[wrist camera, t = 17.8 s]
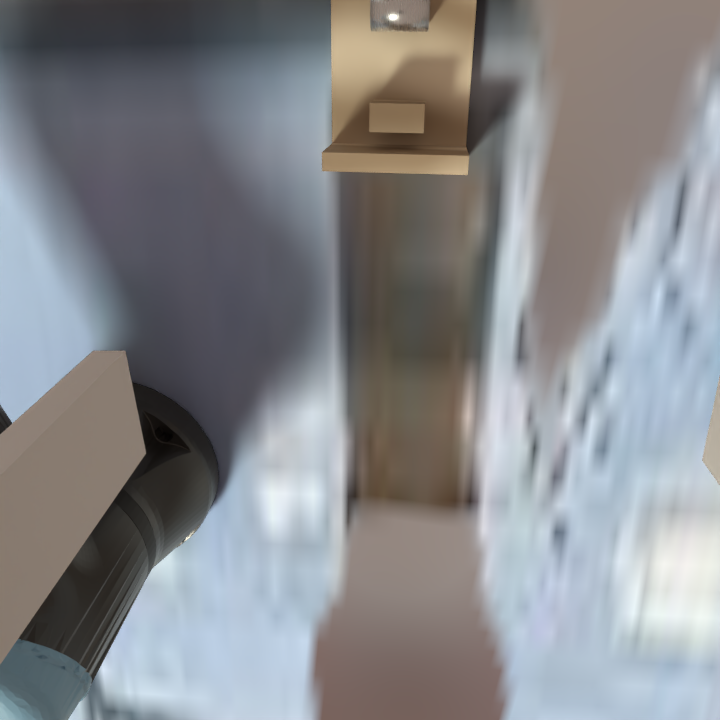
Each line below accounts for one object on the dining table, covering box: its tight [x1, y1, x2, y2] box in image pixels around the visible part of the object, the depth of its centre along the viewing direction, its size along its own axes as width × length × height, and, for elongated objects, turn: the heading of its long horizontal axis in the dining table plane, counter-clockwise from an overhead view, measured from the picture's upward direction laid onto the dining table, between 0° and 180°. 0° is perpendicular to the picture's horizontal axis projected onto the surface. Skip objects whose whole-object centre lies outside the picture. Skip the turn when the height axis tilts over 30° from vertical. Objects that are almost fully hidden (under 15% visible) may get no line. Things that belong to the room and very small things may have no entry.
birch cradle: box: [322, 0, 477, 175], centre depth 35 cm, size 16×8×5 cm, turn 0°
